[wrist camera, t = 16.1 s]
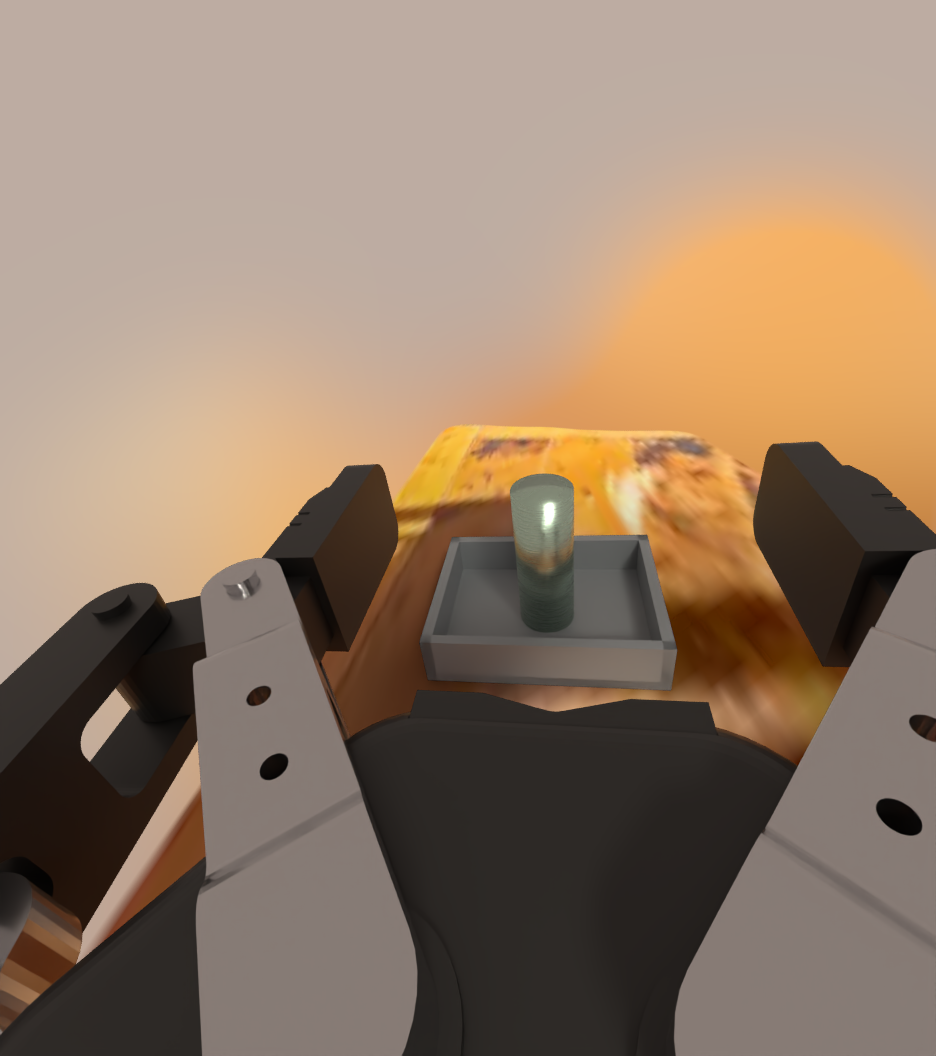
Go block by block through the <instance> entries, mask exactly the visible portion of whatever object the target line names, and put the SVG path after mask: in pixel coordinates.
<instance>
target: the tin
mask: <svg viewBox="0 0 936 1056" xmlns="http://www.w3.org/2000/svg"><path fill="white" fill-rule="evenodd" d="M510 496H511V507H512V519H513V530H514V541H515V553H516V564H517V576H518V587H519V599H520V610H521V618H522V620H523V622H524V623H525V624H526V626H528V627H529V628H531V629H533V630H535V631H538V632H543V633H552V632H557V631H560V630H563V629H565V628H566V627H568V626H569V625H570V624H571V622H572V621H573V618H574V487H573V484H572V483H571V482H570V481H569V480H568V479H566V478H564V477H562V476H559V475H554V474H535V475H530V476H527V477H524V478H521V479H519V480H518V481H516V482H515V483H514V484H513V485H512V487H511V489H510Z"/></svg>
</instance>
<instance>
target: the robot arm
mask: <svg viewBox="0 0 936 1056" xmlns="http://www.w3.org/2000/svg"><path fill="white" fill-rule="evenodd" d="M298 513H299V514H298V515H297V516H295V517H294V519H293V520H292V521H291V522H290V526H288V527H286V529H285V530H284V531H283V532H282V534H281V535H280V536H279V537H278V538H277V540H276V541H275V542H274V544H273V545H272V546H271V547H270V548H269V550H268V551H267V552H266V553H265V555H264V556H263V557H262V558H255V559H250V560H245V561H242V562H239V563H236V564H234V565H231V566H229V567H227V568H225V569H223V570H222V571H220V572H219V573H217V574H216V575H215V576H213V577H212V578H211V579H210V580H209V581H208V582H207V583H206V585H205V586H204V587H203V589H202V592H201V596H197V597H193V598H189V599H184V600H179V601H175V602H170V603H166V604H165V602H164V600H163V599H162V597H161V596H160V594H159V592H158V591H157V589H156V588H155V587H154V586H153V585H151V584H147V583H135V584H130V585H126V586H122V587H119V588H116V589H113V590H111V591H109V592H106V593H104V594H102V595H101V596H99V597H97V598H95V599H94V600H92V601H91V602H89V603H88V604H86V605H85V606H84V607H83V608H82V609H80V610H79V611H78V612H77V613H76V614H75V615H74V616H73V617H72V618H71V619H70V620H69V621H68V622H66V623H65V624H64V625H63V626H62V627H61V628H60V629H59V630H58V631H57V632H56V633H55V634H54V635H53V636H52V637H51V638H49V639H48V640H47V641H46V642H45V643H44V644H43V645H42V646H41V647H40V648H39V649H38V650H37V651H36V652H35V653H34V654H33V655H31V656H30V657H29V658H28V659H27V660H26V661H25V662H24V663H23V664H22V665H21V666H20V667H19V668H18V669H17V670H16V671H14V673H12V674H11V675H10V676H9V677H8V678H7V679H6V680H5V681H4V682H3V683H2V684H1V685H0V1056H936V534H935V533H934V532H932V531H931V530H930V529H929V528H928V527H927V526H926V525H925V524H924V523H923V522H922V521H921V520H920V519H919V518H918V517H917V516H916V515H915V514H914V513H912V512H911V511H910V510H906V506H905V505H904V504H903V503H902V502H901V501H900V500H899V499H897V497H892V493H891V492H890V491H889V490H888V489H887V488H886V487H885V486H884V485H883V484H882V483H880V481H879V480H878V479H876V478H875V477H873V476H871V475H869V474H866V473H864V472H862V471H860V470H858V469H856V468H854V467H852V466H850V465H845V466H842V465H841V464H840V463H839V462H838V461H837V460H836V459H835V458H834V457H833V456H832V455H831V454H830V452H829V451H828V450H826V448H825V447H824V446H823V445H822V444H820V443H819V442H800V443H780V444H772V445H771V446H770V447H769V449H768V451H767V454H766V457H765V462H764V467H763V472H762V477H761V481H760V486H759V491H758V496H757V501H756V506H755V510H754V518H753V528H754V535H755V539H756V542H757V544H758V546H759V548H760V550H761V552H762V554H763V555H764V557H765V559H766V561H767V563H768V565H769V567H770V568H771V570H772V572H773V574H774V576H775V578H776V580H777V582H778V583H779V585H780V587H781V589H782V591H783V593H784V595H785V597H786V598H787V600H788V602H789V604H790V606H791V608H792V610H793V611H794V613H795V615H796V617H797V619H798V621H799V623H800V625H801V626H802V628H803V630H804V632H805V634H806V636H807V638H808V639H809V641H810V643H811V645H812V647H813V649H814V651H815V653H816V654H817V656H818V658H819V660H820V662H821V664H822V666H829V667H850V668H849V670H848V672H847V674H846V676H845V678H844V680H843V682H842V683H841V685H840V687H839V689H838V691H837V693H836V695H835V697H834V699H833V701H832V702H831V704H830V706H829V708H828V710H827V712H826V714H825V716H824V718H823V720H822V722H821V723H820V725H819V727H818V729H817V731H816V733H815V735H814V737H813V739H812V741H811V743H810V744H809V746H808V748H807V750H806V752H805V754H804V756H803V758H802V760H801V762H800V763H799V765H798V766H797V765H795V764H794V763H793V762H791V761H790V760H788V759H787V758H785V757H783V756H781V755H780V754H778V753H776V752H774V751H773V750H771V749H769V748H767V747H765V746H763V745H761V744H759V743H757V742H755V741H753V740H750V739H748V738H746V737H743V736H741V735H738V734H735V733H732V732H730V731H727V730H723V729H720V728H716V727H715V724H714V721H713V717H712V713H711V710H710V706H709V703H708V702H685V701H662V700H639V699H628V700H623V701H617V702H611V703H606V704H600V705H594V706H589V707H583V708H577V709H572V710H566V711H559V712H552V711H547V710H543V709H539V708H536V707H532V706H528V705H525V704H521V703H518V702H514V701H510V700H507V699H503V698H500V697H496V696H492V695H489V694H485V693H475V692H452V691H429V690H417V693H416V696H415V700H414V703H413V706H412V710H411V712H408V713H403V714H400V715H396V716H393V717H390V718H387V719H384V720H382V721H380V722H377V723H375V724H372V725H371V726H369V727H367V728H365V729H363V730H361V731H359V732H358V733H356V734H355V735H353V736H352V737H350V734H349V732H348V729H347V726H346V724H345V721H344V719H343V716H342V713H341V711H340V708H339V705H338V703H337V700H336V698H335V695H334V692H333V690H332V687H331V685H330V682H329V679H328V677H327V674H326V672H325V669H324V667H323V664H322V662H321V660H322V658H323V656H324V654H325V652H326V651H346V652H349V650H350V647H351V645H352V643H353V641H354V639H355V637H356V634H357V632H358V630H359V628H360V626H361V623H362V621H363V619H364V617H365V615H366V613H367V610H368V608H369V606H370V604H371V602H372V600H373V597H374V595H375V593H376V591H377V589H378V587H379V584H380V582H381V580H382V578H383V576H384V573H385V571H386V569H387V567H388V565H389V563H390V560H391V558H392V556H393V554H394V552H395V550H396V547H397V543H398V524H397V519H396V515H395V511H394V507H393V503H392V499H391V496H390V491H389V488H388V484H387V480H386V476H385V472H384V470H383V468H382V467H381V466H380V465H378V464H375V465H374V464H373V465H356V466H355V465H354V466H346V467H345V468H344V469H343V471H342V472H341V473H340V474H339V476H338V477H337V478H336V480H335V481H334V482H333V484H332V485H331V486H330V487H329V488H325V489H324V490H322V491H321V492H319V493H318V494H316V495H315V496H313V497H312V498H310V499H309V500H308V501H307V503H306V504H305V505H304V506H303V507H302V509H301V510H300V511H299V512H298ZM115 688H116V689H117V690H118V692H119V693H120V694H121V696H122V697H123V698H124V699H125V701H126V702H127V703H128V704H129V706H130V707H131V709H130V710H129V711H128V713H127V714H126V716H125V717H124V718H123V719H122V721H121V722H120V723H119V725H118V726H117V727H116V728H115V730H114V731H113V732H112V734H111V735H110V736H109V738H108V739H107V740H106V742H105V743H104V744H103V745H102V747H101V748H100V749H99V751H98V752H97V753H96V755H95V756H94V757H93V759H92V760H91V761H90V762H89V761H88V760H87V759H86V758H85V756H84V755H83V753H82V750H81V736H82V732H83V730H84V728H85V726H86V724H87V722H88V721H89V720H90V718H91V717H92V716H93V715H94V714H95V712H96V711H97V710H98V709H99V707H100V706H101V705H102V704H103V703H104V701H105V700H106V699H107V698H108V697H109V695H110V694H111V693H112V691H113V690H114V689H115ZM197 740H198V752H199V765H200V780H201V794H202V808H203V822H204V836H205V850H206V857H204V858H203V859H202V860H201V861H200V862H198V863H197V864H196V865H195V866H194V867H192V868H191V869H190V870H189V871H188V872H186V873H185V874H184V875H183V876H182V877H180V878H179V879H178V880H177V881H176V882H174V883H173V884H172V885H171V886H170V887H168V888H167V889H166V890H165V891H164V892H162V893H161V894H160V895H159V896H158V897H156V898H155V899H154V900H153V901H152V902H150V903H149V904H148V905H147V906H146V907H144V908H143V909H142V910H141V911H140V912H138V913H137V914H136V915H135V916H134V917H132V918H131V919H130V920H129V921H128V922H126V923H125V924H124V925H123V926H122V927H120V928H119V929H118V930H117V931H116V932H114V933H113V934H112V935H111V936H110V937H108V938H107V939H106V940H105V941H104V942H102V943H101V944H100V945H99V946H98V947H96V948H95V949H94V950H93V951H92V952H90V953H89V954H88V955H87V956H86V957H84V958H83V959H82V960H81V961H80V962H78V963H77V964H76V962H77V959H78V956H79V953H80V949H81V944H82V933H83V931H84V930H85V928H86V926H87V925H88V923H89V921H90V920H91V918H92V916H93V915H94V913H95V911H96V910H97V908H98V906H99V905H100V903H101V901H102V900H103V898H104V896H105V895H106V893H107V891H108V889H109V888H110V886H111V885H112V883H113V881H114V879H115V878H116V876H117V874H118V873H119V871H120V869H121V868H122V866H123V864H124V862H125V861H126V859H127V858H128V856H129V854H130V852H131V851H132V849H133V848H134V846H135V844H136V843H137V841H138V839H139V838H140V836H141V834H142V833H143V831H144V829H145V827H146V826H147V824H148V822H149V821H150V819H151V817H152V816H153V814H154V812H155V811H156V809H157V807H158V806H159V804H160V802H161V801H162V799H163V797H164V795H165V794H166V792H167V790H168V789H169V787H170V786H171V784H172V782H173V781H174V779H175V777H176V776H177V774H178V772H179V771H180V769H181V767H182V766H183V764H184V762H185V760H186V759H187V757H188V755H189V754H190V752H191V750H192V749H193V747H194V745H195V744H196V742H197Z"/></svg>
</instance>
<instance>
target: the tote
mask: <svg viewBox="0 0 936 1056" xmlns="http://www.w3.org/2000/svg"><path fill="white" fill-rule="evenodd" d="M419 644H420V648H421V652H422V657H423V661H424V665H425V670H426V674H427V678H428V680H438V681H462V682H485V683H509V684H532V685H556V686H579V687H603V688H626V689H649V690H671V687H672V681H673V674H674V667H675V661H676V654H677V648H676V644H675V640H674V636H673V632H672V628H671V625H670V621H669V617H668V613H667V609H666V605H665V602H664V598H663V594H662V590H661V586H660V582H659V579H658V575H657V571H656V567H655V563H654V559H653V556H652V552H651V548H650V544H649V540H648V536H647V535H598V536H574V618H573V621H572V622H571V624H570V625H569V626H568V627H566V628H565V629H563V630H560V631H557V632H552V633H543V632H538V631H535V630H533V629H531V628H529V627H528V626H526V624H525V623H524V622H523V620H522V618H521V610H520V599H519V587H518V576H517V564H516V553H515V541H514V537H452V539H451V542H450V546H449V549H448V552H447V555H446V558H445V562H444V565H443V568H442V571H441V574H440V578H439V581H438V584H437V587H436V591H435V594H434V597H433V600H432V603H431V607H430V610H429V613H428V616H427V619H426V623H425V626H424V629H423V632H422V635H421V639H420V642H419Z"/></svg>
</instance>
